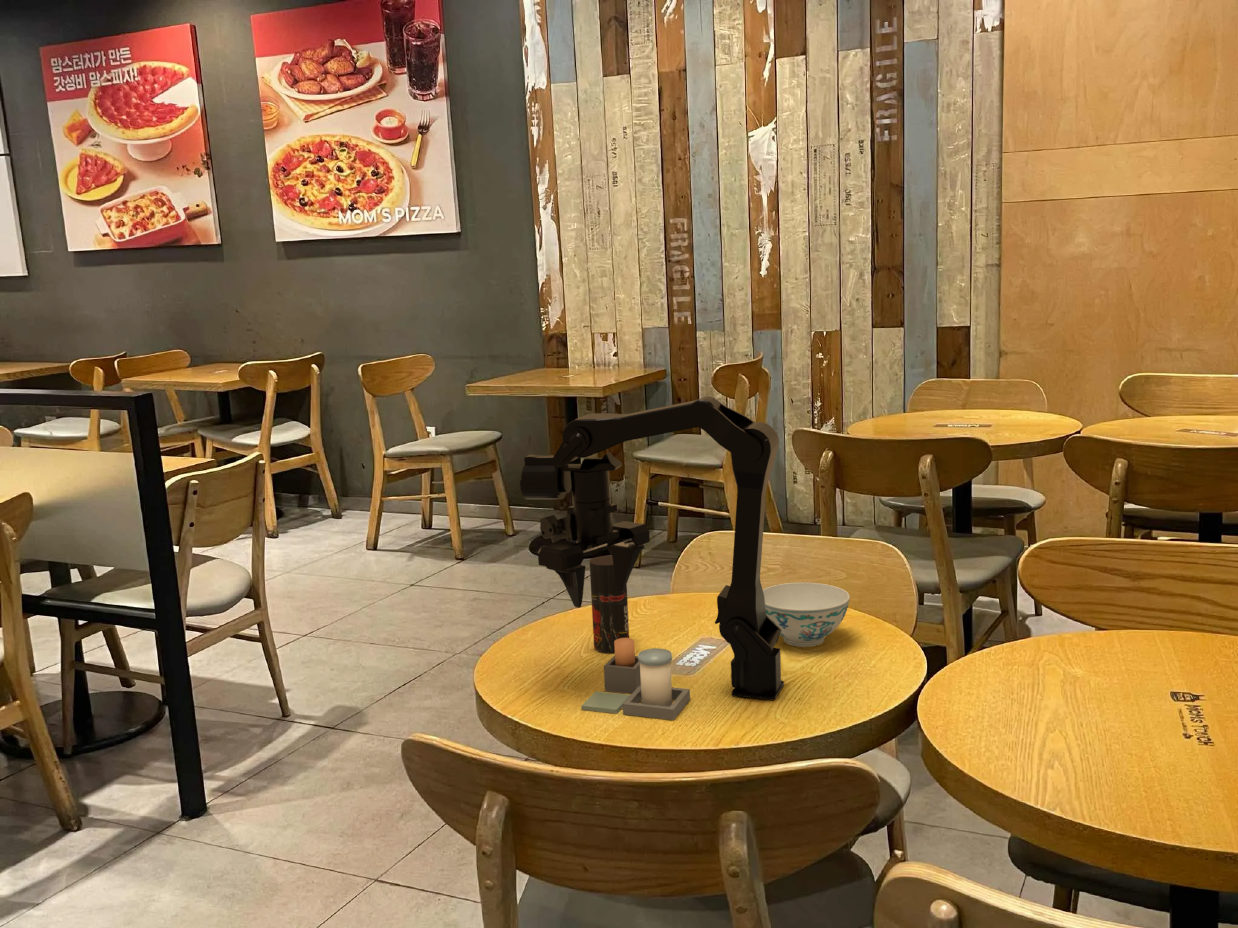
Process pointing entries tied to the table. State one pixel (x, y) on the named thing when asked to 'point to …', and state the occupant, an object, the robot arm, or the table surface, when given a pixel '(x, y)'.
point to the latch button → (624, 652)
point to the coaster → (605, 702)
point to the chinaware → (805, 611)
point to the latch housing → (621, 677)
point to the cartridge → (655, 676)
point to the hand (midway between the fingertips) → (599, 599)
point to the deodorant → (607, 605)
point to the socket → (656, 711)
